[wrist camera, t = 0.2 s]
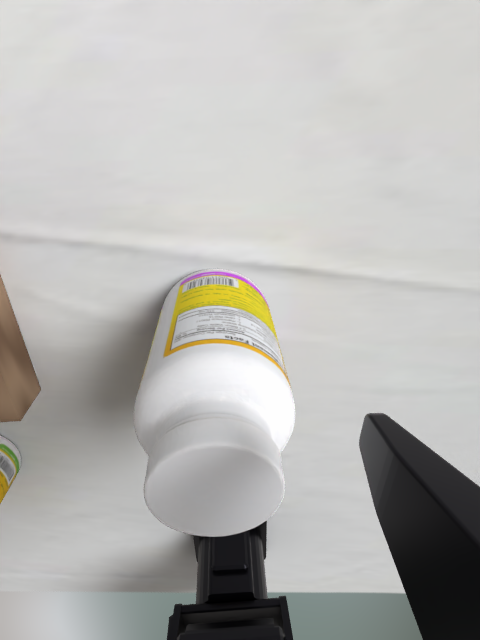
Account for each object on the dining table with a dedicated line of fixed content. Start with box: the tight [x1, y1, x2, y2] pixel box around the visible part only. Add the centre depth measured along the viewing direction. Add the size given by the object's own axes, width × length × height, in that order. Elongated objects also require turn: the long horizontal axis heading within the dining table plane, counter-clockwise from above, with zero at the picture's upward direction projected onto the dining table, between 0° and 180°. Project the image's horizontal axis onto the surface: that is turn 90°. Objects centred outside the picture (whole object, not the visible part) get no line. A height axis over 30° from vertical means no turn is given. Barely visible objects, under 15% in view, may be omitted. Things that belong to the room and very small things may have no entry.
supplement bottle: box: [134, 269, 295, 537], centre depth 18 cm, size 7×7×13 cm
